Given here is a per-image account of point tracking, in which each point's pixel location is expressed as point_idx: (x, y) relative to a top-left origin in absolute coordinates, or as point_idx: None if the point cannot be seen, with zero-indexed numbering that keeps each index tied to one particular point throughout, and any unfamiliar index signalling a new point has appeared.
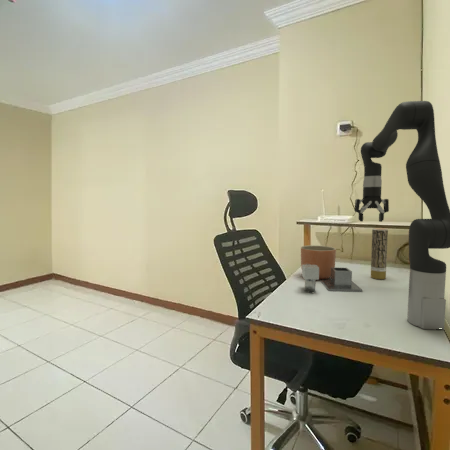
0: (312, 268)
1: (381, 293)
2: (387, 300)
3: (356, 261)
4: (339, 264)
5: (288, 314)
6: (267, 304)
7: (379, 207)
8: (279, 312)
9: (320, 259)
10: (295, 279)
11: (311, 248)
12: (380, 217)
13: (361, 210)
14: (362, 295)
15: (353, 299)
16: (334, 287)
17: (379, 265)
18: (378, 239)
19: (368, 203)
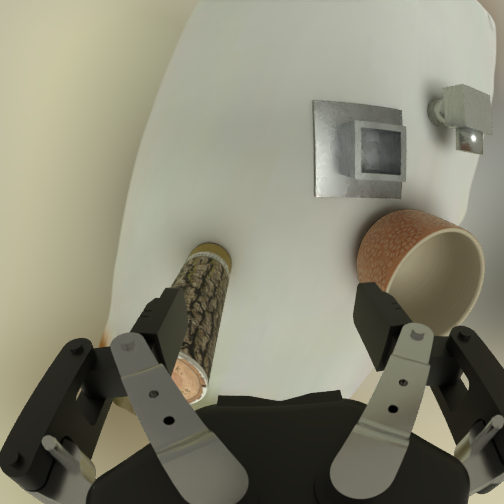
0: (474, 89)
1: (260, 93)
2: (267, 41)
3: None
4: (276, 391)
5: (460, 8)
6: (491, 53)
7: (159, 386)
8: (472, 18)
9: (437, 218)
10: (448, 219)
11: None
12: (173, 317)
13: (427, 347)
14: (321, 73)
15: (351, 46)
16: (385, 120)
17: (206, 260)
18: (192, 319)
19: (394, 437)
